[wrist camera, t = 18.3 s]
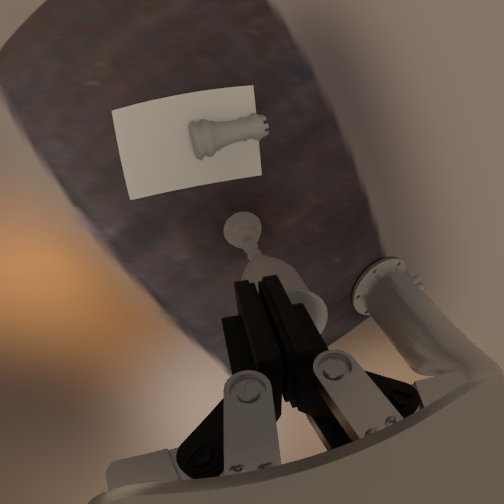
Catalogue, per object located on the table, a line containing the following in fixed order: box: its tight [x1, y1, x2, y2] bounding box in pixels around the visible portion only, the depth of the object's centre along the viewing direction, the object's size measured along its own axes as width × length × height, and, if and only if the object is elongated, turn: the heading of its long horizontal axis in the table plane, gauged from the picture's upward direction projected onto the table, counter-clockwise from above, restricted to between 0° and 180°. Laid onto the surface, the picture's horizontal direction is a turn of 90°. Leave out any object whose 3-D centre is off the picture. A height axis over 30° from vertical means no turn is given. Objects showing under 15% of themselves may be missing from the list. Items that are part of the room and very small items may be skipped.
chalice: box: [224, 212, 328, 334], centre depth 29 cm, size 7×7×18 cm
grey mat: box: [112, 85, 262, 200], centre depth 29 cm, size 16×11×1 cm
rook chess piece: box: [188, 113, 269, 160], centre depth 28 cm, size 4×4×8 cm
